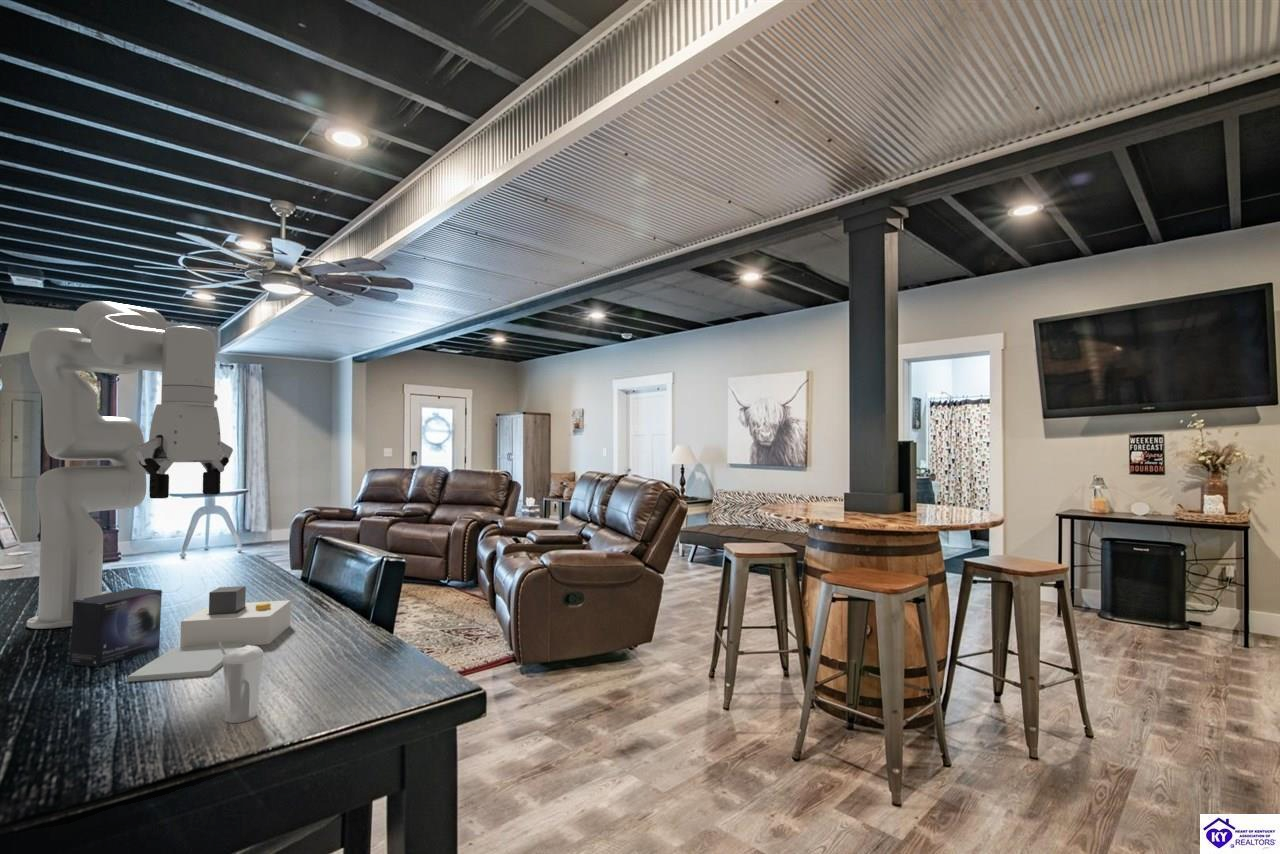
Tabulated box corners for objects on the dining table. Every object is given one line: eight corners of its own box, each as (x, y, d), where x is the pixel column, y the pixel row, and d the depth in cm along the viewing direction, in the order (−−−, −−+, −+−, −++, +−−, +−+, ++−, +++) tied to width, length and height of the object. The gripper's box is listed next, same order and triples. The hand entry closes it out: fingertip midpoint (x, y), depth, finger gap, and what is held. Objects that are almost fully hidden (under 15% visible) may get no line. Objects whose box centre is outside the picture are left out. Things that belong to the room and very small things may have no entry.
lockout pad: (174, 652, 107) (174, 647, 107) (245, 647, 109) (245, 642, 109) (127, 681, 93) (127, 676, 93) (209, 675, 95) (209, 670, 96)
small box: (99, 668, 99) (101, 602, 99) (67, 665, 100) (69, 600, 100) (162, 647, 109) (164, 588, 109) (132, 645, 110) (134, 586, 111)
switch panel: (210, 630, 119) (211, 600, 120) (290, 625, 123) (290, 596, 123) (180, 650, 108) (181, 616, 108) (268, 644, 111) (269, 611, 111)
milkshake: (227, 711, 82) (229, 636, 83) (268, 710, 83) (270, 635, 83) (206, 726, 78) (208, 647, 78) (250, 725, 78) (252, 646, 79)
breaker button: (219, 619, 116) (219, 587, 117) (245, 617, 117) (245, 586, 118) (208, 625, 112) (209, 592, 112) (235, 624, 113) (236, 591, 113)
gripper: (214, 402, 116) (212, 492, 116) (120, 394, 100) (117, 499, 99) (247, 401, 115) (246, 493, 114) (157, 392, 98) (154, 500, 97)
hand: (186, 496), depth 107 cm, fingers open, 9 cm apart
